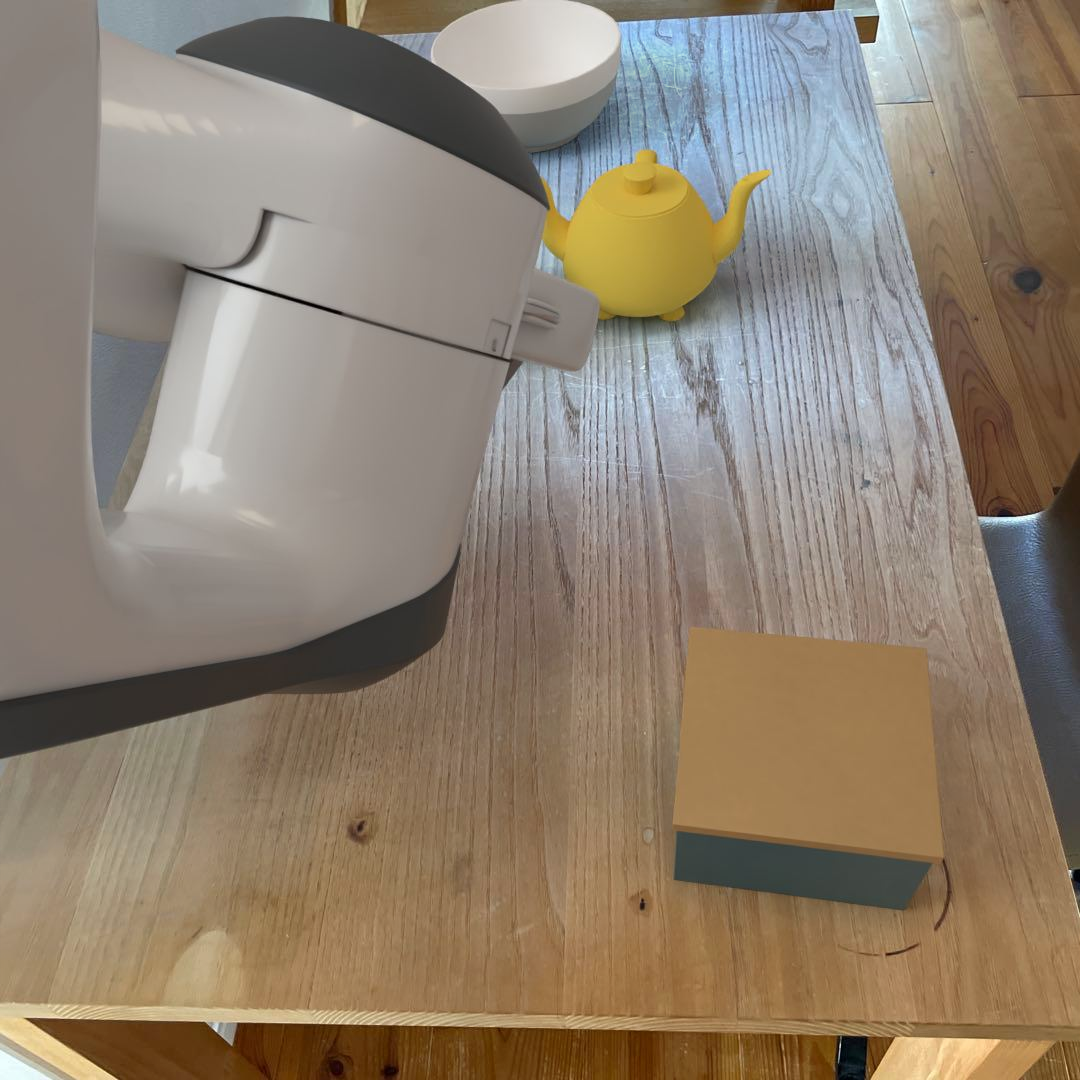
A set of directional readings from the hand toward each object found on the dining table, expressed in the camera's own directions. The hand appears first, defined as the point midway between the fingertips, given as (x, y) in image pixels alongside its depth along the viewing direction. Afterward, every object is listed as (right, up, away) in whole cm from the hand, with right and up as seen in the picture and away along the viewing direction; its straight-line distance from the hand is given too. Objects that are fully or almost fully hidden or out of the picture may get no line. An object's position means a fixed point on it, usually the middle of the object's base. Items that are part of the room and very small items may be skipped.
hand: (454, 310), depth 52 cm
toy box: (+19, -27, +4) cm, 33 cm away
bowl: (+4, +31, +52) cm, 61 cm away
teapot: (+13, +10, +34) cm, 38 cm away
